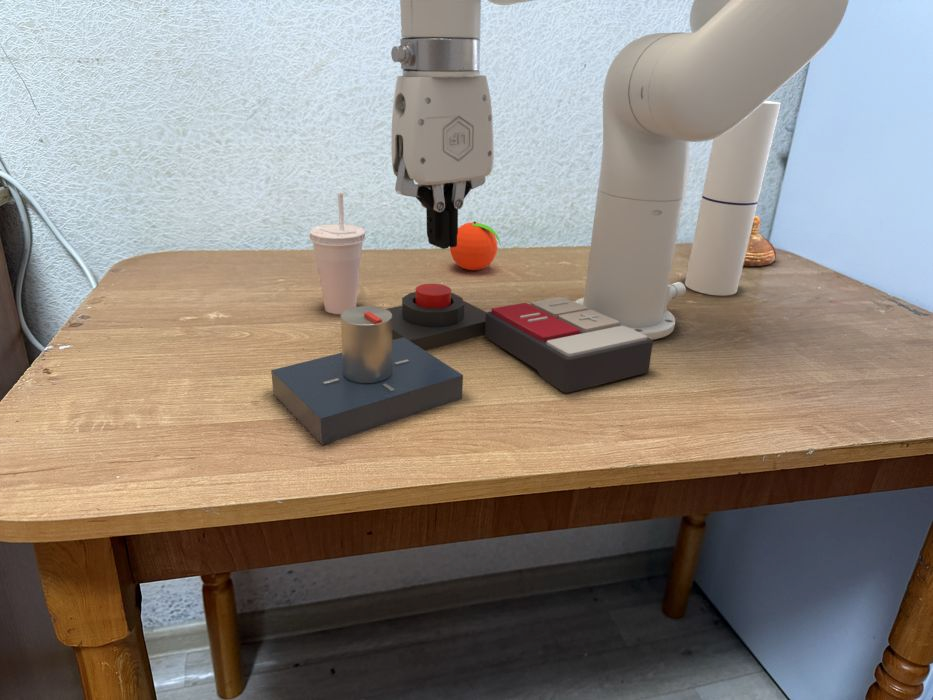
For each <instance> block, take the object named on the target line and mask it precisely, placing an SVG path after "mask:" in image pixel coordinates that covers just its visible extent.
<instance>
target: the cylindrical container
mask: <svg viewBox="0 0 933 700" xmlns="http://www.w3.org/2000/svg"><path fill="white" fill-rule="evenodd" d="M781 106H782V103H781V102H778V101H770V100H766V101H765V102H764V103H763V104H762V105H760V106H759V107H758V108H757V109H756V110H755V111H754V112H752V113H751V114H750V115H749V116H748V117H747V118H746V119H744V120H743V121H742V122H741V123H739V124H738V125H737V126H735V127H734V128H733V129H731V130H730V131H728V132H727V133H725V134H723V135H721V136H719V137H717V138H714V139H712V144H711V149H710V153H709V159H708V164H707V167H706V174H705V180H704V184H703V188H702V189H703V190H702V196H701V199H700V204H699V209H698V214H697V219H696V224H695V230H694V234H693V241H692V243H691V244H692V246H691V249H690V256H689V260H688V266H687V270H686V276H685V280H684V286H685V287H687V288H688V289H690V290H692V291H695V292H697V293H701V294H705V295H711V296H721V297H722V296H733V295H734V294H736V293H737V292H738V289H739V285H740V280H741V276H742V272H743V267H744V266H743V263H744V259H745V255H746V251H747V246H748V242H749V238H750V233H751V229H752V225H753V221H754V216H756V213H757V207H758V202H759V199H760V195H761V190H762V186H763V182H764V176H765V174H766V169H767V165H768V161H769V157H770V153H771V148H772V143H773V139H774V136H775V135H774V134H775V132H776V131H775V130H776V127H777V122H778V118H779V114H780V108H781Z"/></svg>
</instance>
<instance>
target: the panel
mask: <svg viewBox="0 0 933 700" xmlns="http://www.w3.org/2000/svg"><path fill="white" fill-rule="evenodd" d="M270 372H271V382H272V395H273V396H274V397H275V398H276V399H277V400H278V402H280V403H281V404H282V405H283V406H284V408H286V409H287V410H288V412H290V414H291V415H292V416H294V418H296V420H297V421H298V422H300V424H301V425H302V426H303V427H304V428H305V429H306V430H307V431H308V432H309V433H310V434H311V435H312V436H313V437H314V438H315V440H317V441H318V443H319V444H320V445H321V446H325V445H327V444H330V443H334V442H335V441H338V440H342V439H345V438H347V437H352V436H354V435H356V434H361V433H363V432H366V431H369V430H372V429H374V428H377V427H381V426H384V425H387V424H390V423H393V422H396V421H398V420H403V419H406V418H408V417H412V416H414V415H417V414H420V413H423V412H426V411H429V410H432V409H435V408H439V407H441V406H445V405H447V404H450V403H453V402H457V401H459V400H462V399H463V386H464V384H463V383H464V374H462V373H461V372H459V371H458V370H456V369H455V368H453V367H451V366H449V365H448V364H447V363H445V362H444V361H442V360H440V359H439V358H438V357H436V356H434V355H432V354H431V353H430V352H428V351H427V350H423V349H422V348H420V347H419V346H417V345H415V344H414V343H412V342H411V341H409V340H408V339H406V338H404V337H403V338H399V339H395V340H392V374H391V376H390V377H389V378H387V379H385V380H383V381H380V382H375V383H358V382H354V381H351V380H349V379H347V378H346V377H345V376H344V375H343V362H342V352H339V353H333V354H330V355H326V356H322V357H318V358H315V359H310V360H306V361H302V362H298V363H293V364H290V365H286V366H282V367H278V368H275V369H271V370H270Z"/></svg>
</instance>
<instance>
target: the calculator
mask: <svg viewBox="0 0 933 700" xmlns="http://www.w3.org/2000/svg"><path fill="white" fill-rule="evenodd" d="M486 312H487V313H486V320H485V335H484V337H485V339H487V340H489V341H490V342H491V343H493V344H495V345H496V346H498V347H499V348H501V349H503V350H504V351H506V352H508V353H509V354H510V355H513V356H514V357H516V358H517V359H519V360H521V361H522V362H523V363H525V364H527V365H528V366H530V367H531V368H532V369H534V370H536V371H537V373H538V374H539V376H540V378H541V380H543V381H544V382H546V383H547V384H550V385H551V386H552V387H554V388H555V389H557V390H559V391H560V392H562V393H565V394H568V393H572V392H576V391H580V390H585V389H588V388H592V387H597V386H600V385H604V384H609V383H612V382H616V381H620V380H623V379H628V378H630V377H637V376H641V375H644V374H647V373H649V371H650V367H651V366H650V365H651V358H652V352H653V345H654V344H653V343H654V340H652V339H650V338H648V337H647V336H646V335H644V334H642V333H640V332H637V331H635V330H633V329H631V328H628V327H626V326H621V325H619V321H617V320H614V319H612V318H610V317H608V316H605V315H603V314H601V313H599V312H596V311H594V310H587V307H585V306H583V305H581V304H578V303H576V302H574V300H571V299H569V298H568V297H564V296H558V297H552V298H546V299H540V300H534V301H533V300H532V301H531V302H530V304H529V303H527V302H522V303H516V304H509V305H503V306H497V307H492V308H491V311H486Z"/></svg>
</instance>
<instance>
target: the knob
mask: <svg viewBox="0 0 933 700" xmlns="http://www.w3.org/2000/svg"><path fill="white" fill-rule="evenodd" d="M386 309H387V308H383V307H379V306H373V305H361V306H356V307H354V308H350V309H348V310H345V311H344V312H343V313H342V314H340V331H341V333H340V334H341V335H340V336H341V353H342V362H343V375H344V376H345V377H346V378H347V379H349V380H351V381H354V382H358V383H375V382H380V381H383V380H385V379H387V378H389V377H390V376H391V374H392V314H391V312H390V311H388V310H386Z"/></svg>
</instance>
